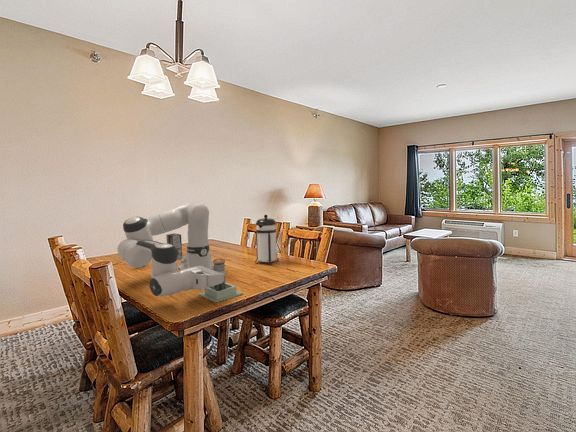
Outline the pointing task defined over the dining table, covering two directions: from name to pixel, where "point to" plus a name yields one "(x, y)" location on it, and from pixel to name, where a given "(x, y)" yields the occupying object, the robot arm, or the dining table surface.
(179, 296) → the dining table surface
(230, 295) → the green square tray
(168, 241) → the coffee box
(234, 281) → the dining table surface
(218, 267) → the pin
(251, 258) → the dining table surface
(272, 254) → the coffee press
